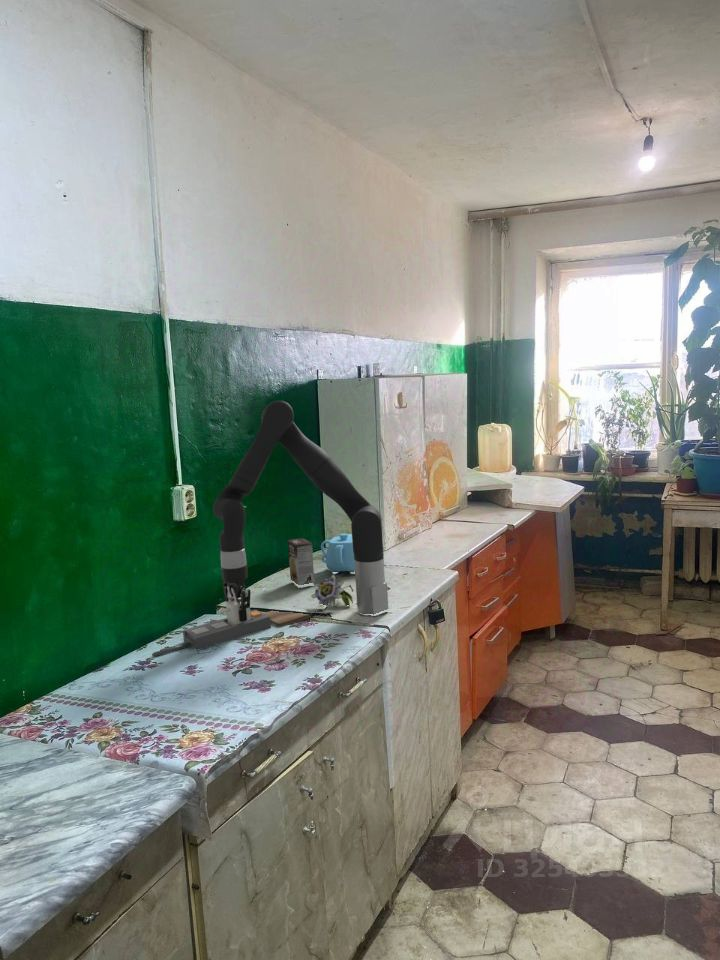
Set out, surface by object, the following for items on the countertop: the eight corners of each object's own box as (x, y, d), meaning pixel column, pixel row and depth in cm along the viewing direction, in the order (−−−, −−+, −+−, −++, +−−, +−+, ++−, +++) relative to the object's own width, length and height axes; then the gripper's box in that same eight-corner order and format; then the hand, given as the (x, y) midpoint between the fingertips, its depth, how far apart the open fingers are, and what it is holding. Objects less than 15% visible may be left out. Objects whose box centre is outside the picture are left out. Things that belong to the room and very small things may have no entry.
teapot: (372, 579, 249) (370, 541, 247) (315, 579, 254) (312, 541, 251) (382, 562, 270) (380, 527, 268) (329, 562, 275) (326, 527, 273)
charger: (251, 624, 206) (249, 601, 204) (225, 631, 201) (223, 608, 200) (244, 620, 209) (242, 598, 208) (219, 627, 204) (217, 605, 203)
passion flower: (327, 624, 222) (303, 596, 221) (340, 607, 231) (318, 580, 231) (350, 609, 216) (326, 580, 215) (363, 592, 225) (340, 564, 225)
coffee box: (290, 582, 251) (286, 540, 249) (306, 579, 254) (303, 537, 251) (298, 589, 243) (295, 545, 240) (315, 586, 245) (312, 542, 243)
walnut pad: (312, 616, 214) (312, 613, 214) (279, 627, 207) (278, 623, 207) (292, 607, 224) (292, 604, 224) (259, 617, 217) (259, 614, 217)
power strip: (270, 627, 207) (269, 614, 207) (158, 662, 187) (156, 647, 186) (256, 620, 214) (255, 607, 214) (146, 652, 194) (145, 638, 193)
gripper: (256, 565, 199) (261, 621, 202) (234, 557, 211) (239, 610, 213) (233, 571, 195) (238, 628, 198) (211, 562, 206) (217, 616, 209)
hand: (239, 618), depth 205 cm, fingers open, 5 cm apart
